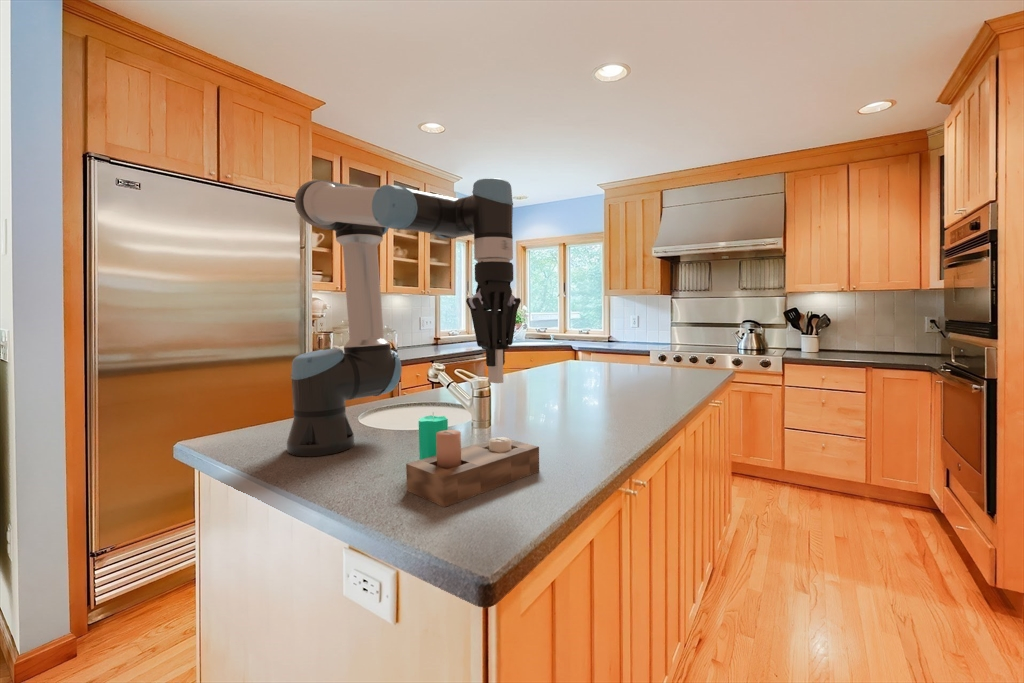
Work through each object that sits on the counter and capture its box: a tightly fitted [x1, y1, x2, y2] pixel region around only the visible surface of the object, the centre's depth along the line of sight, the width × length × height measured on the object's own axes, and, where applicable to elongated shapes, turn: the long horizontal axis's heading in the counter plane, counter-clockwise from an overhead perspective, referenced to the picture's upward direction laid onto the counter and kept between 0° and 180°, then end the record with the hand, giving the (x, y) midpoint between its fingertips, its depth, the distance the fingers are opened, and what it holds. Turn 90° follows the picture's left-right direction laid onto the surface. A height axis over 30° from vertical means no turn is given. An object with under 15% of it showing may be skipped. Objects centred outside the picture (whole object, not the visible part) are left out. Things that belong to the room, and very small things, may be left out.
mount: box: [405, 439, 540, 508], centre depth 93 cm, size 11×24×5 cm, turn 136°
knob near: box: [436, 429, 462, 470], centre depth 88 cm, size 4×4×6 cm
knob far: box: [488, 436, 512, 453], centre depth 97 cm, size 4×4×6 cm
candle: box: [418, 413, 449, 460], centre depth 100 cm, size 6×6×12 cm
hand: (495, 382), depth 96 cm, fingers closed
